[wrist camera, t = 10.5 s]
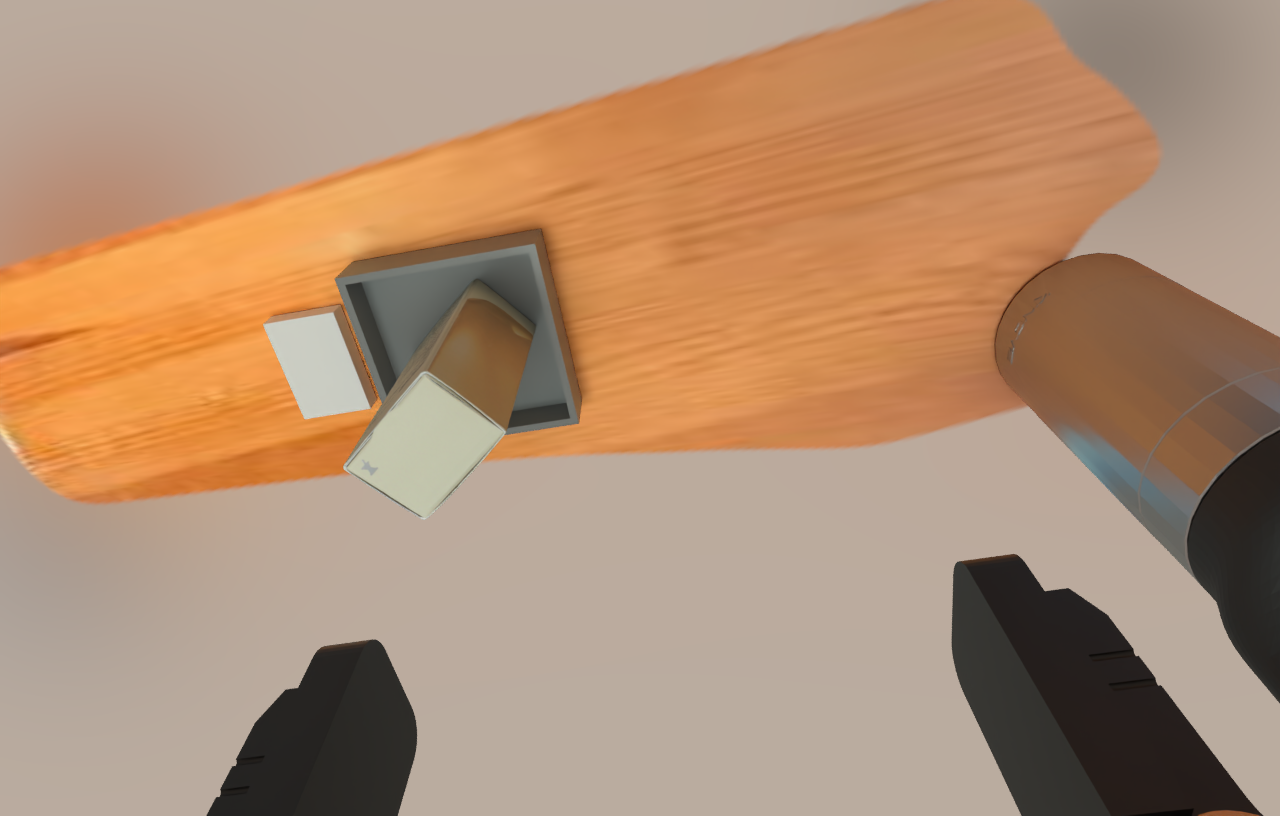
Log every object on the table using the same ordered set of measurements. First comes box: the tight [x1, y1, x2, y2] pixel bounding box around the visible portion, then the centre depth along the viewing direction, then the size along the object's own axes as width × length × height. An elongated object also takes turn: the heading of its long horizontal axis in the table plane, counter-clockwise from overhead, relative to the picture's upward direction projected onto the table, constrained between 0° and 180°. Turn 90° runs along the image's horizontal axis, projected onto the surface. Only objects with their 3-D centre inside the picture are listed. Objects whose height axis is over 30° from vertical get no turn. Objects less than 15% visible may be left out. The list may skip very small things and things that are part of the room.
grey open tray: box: [263, 229, 582, 435], centre depth 42 cm, size 16×10×3 cm, turn 100°
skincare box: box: [343, 279, 536, 520], centre depth 37 cm, size 6×4×12 cm
